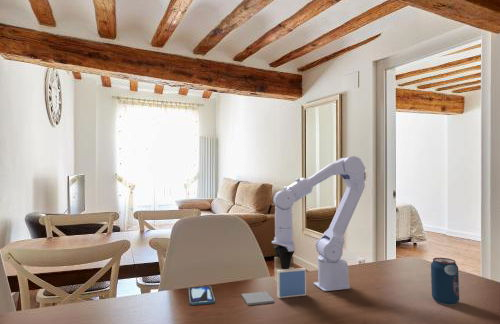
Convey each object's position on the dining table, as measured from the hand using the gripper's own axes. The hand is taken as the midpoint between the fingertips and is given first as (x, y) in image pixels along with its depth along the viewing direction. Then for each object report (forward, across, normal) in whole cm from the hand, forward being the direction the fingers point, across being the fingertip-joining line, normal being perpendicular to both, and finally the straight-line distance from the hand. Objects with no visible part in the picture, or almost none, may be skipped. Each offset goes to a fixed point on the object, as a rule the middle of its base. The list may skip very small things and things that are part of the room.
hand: (284, 269), depth 110 cm
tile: (+6, +6, 0) cm, 9 cm away
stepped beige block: (+4, 0, 0) cm, 4 cm away
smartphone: (+7, -2, -27) cm, 28 cm away
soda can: (+7, +23, +41) cm, 48 cm away
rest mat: (+6, +6, -11) cm, 14 cm away
